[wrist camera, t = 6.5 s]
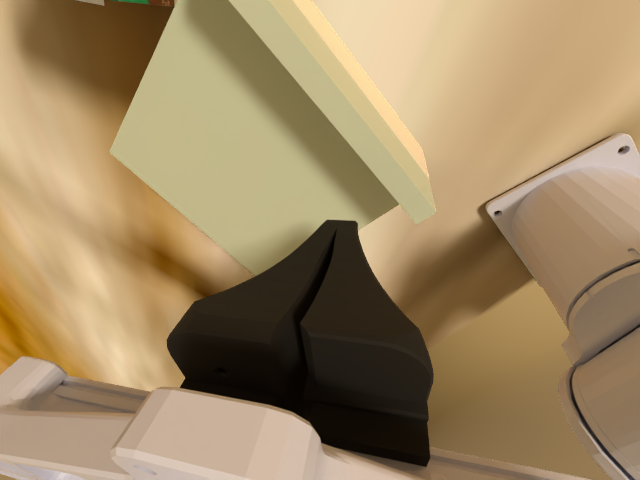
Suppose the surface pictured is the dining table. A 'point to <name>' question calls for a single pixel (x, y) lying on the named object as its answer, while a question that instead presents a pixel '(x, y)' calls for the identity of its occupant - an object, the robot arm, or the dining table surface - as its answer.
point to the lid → (262, 132)
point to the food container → (152, 0)
